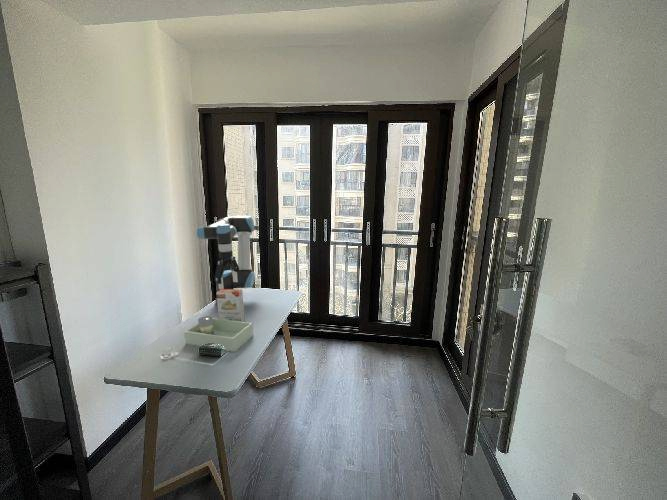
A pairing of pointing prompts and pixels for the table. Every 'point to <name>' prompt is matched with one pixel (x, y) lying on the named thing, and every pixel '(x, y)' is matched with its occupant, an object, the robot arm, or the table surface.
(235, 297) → the cracker box
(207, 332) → the can
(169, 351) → the white curved piece
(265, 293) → the table surface
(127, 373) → the table surface
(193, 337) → the tote
